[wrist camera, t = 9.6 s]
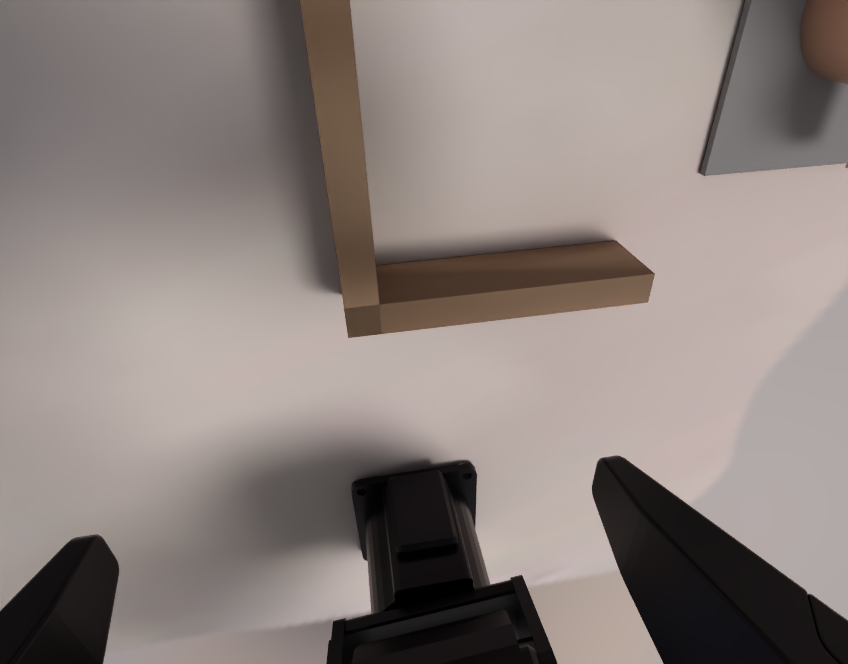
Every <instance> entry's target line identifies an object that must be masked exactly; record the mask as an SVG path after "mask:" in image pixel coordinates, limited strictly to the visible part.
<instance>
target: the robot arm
mask: <svg viewBox="0 0 848 664" xmlns="http://www.w3.org/2000/svg"><path fill="white" fill-rule="evenodd" d="M476 484H477V473H476V470H475V467H474V466H473V465H472V464H460V465H453V466H446V467H440V468H433V469H426V470H420V471H413V472H406V473H399V474H393V475H386V476H379V477H373V478H366V479H360V480H356V481H355V482H353V484H352V486H351V490H352V498H353V504H354V510H355V515H356V521H357V527H358V532H359V538H360V544H361V549H362V555H363V558H364V559H365V560H366V561H368V573H369V587H370V601H371V614H370V615H365V616H361V617H357V618H353V619H349V620H346V618H344V619H340V620H336V621H333V628H332V638H331V640H329V644H328V654H327V664H557V661H556V658H555V656H554V654H553V651H552V648H551V646H550V643H549V641H548V638H547V636H546V633H545V631H544V628H543V626H542V623H541V621H540V618H539V616H538V613H537V611H536V608H535V606H534V604H533V601H532V599H531V596H530V594H529V591H528V589H527V586H526V584H525V581H524V579H523V576H522V575H519V576H515V577H511V578H510V579H511V580H508V581H504V582H500V583H496V584H492V585H490V581H489V578H488V574H487V570H486V567H485V563H484V560H483V556H482V552H481V549H480V545H479V542H478V538H477V534H476V531H475V517H476ZM592 494H593V498H594V501H595V504H596V507H597V509H598V512H599V515H600V518H601V520H602V523H603V526H604V529H605V532H606V534H607V537H608V540H609V543H610V546H611V548H612V551H613V554H614V557H615V560H616V562H617V565H618V567H619V570H620V573H621V575H622V577H623V580H624V582H625V584H626V586H627V588H628V590H629V593H630V595H631V596H632V599H633V601H634V603H635V605H636V607H637V609H638V611H639V613H640V615H641V617H642V620H643V621H644V624H645V626H646V628H647V630H648V632H649V634H650V636H651V638H652V640H653V642H654V644H655V647H656V648H657V650H658V653H659V655H660V657H661V659H662V661H663V663H664V664H848V620H847V619H845V618H844V617H842V616H841V615H840V614H838V613H837V612H835V611H834V610H832V609H831V608H829V607H828V606H827V605H826V604H824V603H823V602H821V601H820V600H819V599H817V598H816V597H815V596H813V595H812V594H807V592H806V590H805V589H803V588H802V587H800V586H799V585H798V584H797V583H795V582H794V581H792V580H791V579H789V578H788V577H787V576H785V575H784V574H783V573H781V572H780V571H779V570H777V569H776V568H775V567H773V566H772V565H770V564H769V563H767V562H766V561H765V560H764V559H762V558H761V557H759V556H758V555H757V554H755V553H754V552H752V551H751V550H750V549H748V548H747V547H746V546H744V545H743V544H742V543H740V542H739V541H737V540H736V539H735V538H733V537H732V536H730V535H729V534H728V533H726V532H725V531H724V530H722V529H721V528H720V527H718V526H717V525H715V524H714V523H713V522H711V521H710V520H709V519H707V518H706V517H705V516H703V515H702V514H700V513H699V512H698V511H696V510H695V509H693V508H692V507H691V506H689V505H688V504H687V503H685V502H684V501H683V500H681V499H680V498H678V497H677V496H676V495H674V494H673V493H672V492H670V491H669V490H667V489H666V488H665V487H663V486H662V485H661V484H659V483H658V482H656V481H655V480H654V479H652V478H651V477H650V476H648V475H647V474H645V473H644V472H643V471H641V470H640V469H639V468H637V467H636V466H634V465H633V464H632V463H630V462H629V461H628V460H626V459H625V458H623V457H621V456H611V457H604V458H600V459H599V461H598V462H597V466H596V470H595V475H594V479H593V484H592ZM118 576H119V565H118V562H117V559H116V558H115V556H114V555H113V553H112V551H111V550H110V548H109V547H108V545H107V544H106V542H105V540H104V539H103V538H102V537H101V536H99V535H89V536H82V537H77V538H74V539H72V540H70V541H69V542H68V543H67V544H66V545H65V546H64V547H63V548H62V549H61V550H60V551H59V552H58V553H57V554H56V555H55V556H54V557H53V558H52V559H51V560H50V561H49V562H48V563H47V564H46V565H45V566H44V567H43V568H42V569H41V570H40V571H39V572H38V573H37V574H36V575H35V576H34V577H33V578H32V579H31V580H30V581H29V582H28V583H27V584H26V585H25V586H24V587H23V588H22V589H21V590H20V591H19V592H18V593H17V594H16V595H15V596H14V597H13V599H12V600H11V601H10V602H9V603H8V604H7V605H6V606H5V607H4V608H3V609H2V610H1V611H0V664H103V661H104V656H105V651H106V645H107V639H108V633H109V628H110V622H111V616H112V611H113V605H114V599H115V593H116V588H117V582H118Z"/></svg>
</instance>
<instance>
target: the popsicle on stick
mask: <svg viewBox="0 0 848 664" xmlns="http://www.w3.org/2000/svg"><path fill="white" fill-rule="evenodd" d="M800 38H801V48H802V53H803V56H804V59H805V62H806V63H807V65H808V67H809V68H810V70H811V71H812V72H813V73H814V74H815V75H817V76H818V77H820V78H822V79H824V80H827V81H831V82H837V83H843V84H848V0H807V2H806V5H805V9H804V12H803V17H802V23H801V34H800ZM846 168H848V162H847V164H846Z"/></svg>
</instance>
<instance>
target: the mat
mask: <svg viewBox="0 0 848 664" xmlns="http://www.w3.org/2000/svg"><path fill="white" fill-rule="evenodd" d="M806 2H807V0H745V4H744V8H743V11H742V15H741V19H740V23H739V27H738V31H737V34H736V38H735V42H734V46H733V50H732V53H731V57H730V61H729V65H728V69H727V73H726V76H725V80H724V84H723V88H722V92H721V95H720V99H719V103H718V107H717V111H716V114H715V118H714V122H713V126H712V130H711V134H710V137H709V141H708V145H707V149H706V153H705V156H704V160H703V164H702V168H701V172H700V174H702V175H704V176H708V175H719V174H730V173H742V172H753V171H764V170H775V169H786V168H797V167H808V166H819V165H830V164H841V163H847V162H848V84H843V83H837V82H831V81H827V80H824V79H822V78H820V77H818V76H817V75H815V74H814V73H813V72H812V71H811V70H810V68H809V67H808V65H807V63H806V62H805V59H804V56H803V53H802V48H801V38H800V34H801V23H802V17H803V12H804V9H805V5H806Z"/></svg>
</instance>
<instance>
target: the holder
mask: <svg viewBox="0 0 848 664" xmlns="http://www.w3.org/2000/svg"><path fill="white" fill-rule="evenodd" d="M300 6H301V12H302V19H303V26H304V33H305V40H306V47H307V54H308V61H309V68H310V75H311V82H312V89H313V96H314V103H315V110H316V117H317V124H318V131H319V138H320V144H321V151H322V158H323V165H324V172H325V179H326V186H327V193H328V200H329V207H330V214H331V221H332V228H333V235H334V242H335V249H336V256H337V263H338V270H339V276H340V283H341V290H342V297H343V304H344V311H345V318H346V325H347V332H348V338H351V337H360V336H368V335H377V334H385V333H394V332H402V331H410V330H419V329H427V328H436V327H444V326H453V325H461V324H469V323H478V322H486V321H495V320H503V319H512V318H520V317H529V316H537V315H545V314H554V313H562V312H571V311H579V310H588V309H596V308H605V307H613V306H621V305H630V304H638V303H647V302H648V300H649V296H650V292H651V287H652V283H653V279H654V275H655V274H654V273H653V272H652V271H651V270H650V269H649V268H647V267H646V266H645V265H644V264H643V263H642V262H640V261H639V260H638V259H637V258H636V257H635V256H633V255H632V254H631V253H630V252H629V251H628V250H626V249H625V248H624V247H623V246H622V245H621V244H619V243H618V242H617V241H609V242H599V243H589V244H580V245H570V246H561V247H551V248H541V249H532V250H522V251H512V252H503V253H493V254H483V255H474V256H464V257H454V258H445V259H435V260H425V261H416V262H406V263H396V264H387V265H377V266H376V264H375V254H374V244H373V234H372V223H371V213H370V203H369V193H368V183H367V173H366V163H365V152H364V142H363V132H362V122H361V112H360V102H359V92H358V81H357V71H356V61H355V51H354V41H353V31H352V21H351V10H350V0H300Z"/></svg>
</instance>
